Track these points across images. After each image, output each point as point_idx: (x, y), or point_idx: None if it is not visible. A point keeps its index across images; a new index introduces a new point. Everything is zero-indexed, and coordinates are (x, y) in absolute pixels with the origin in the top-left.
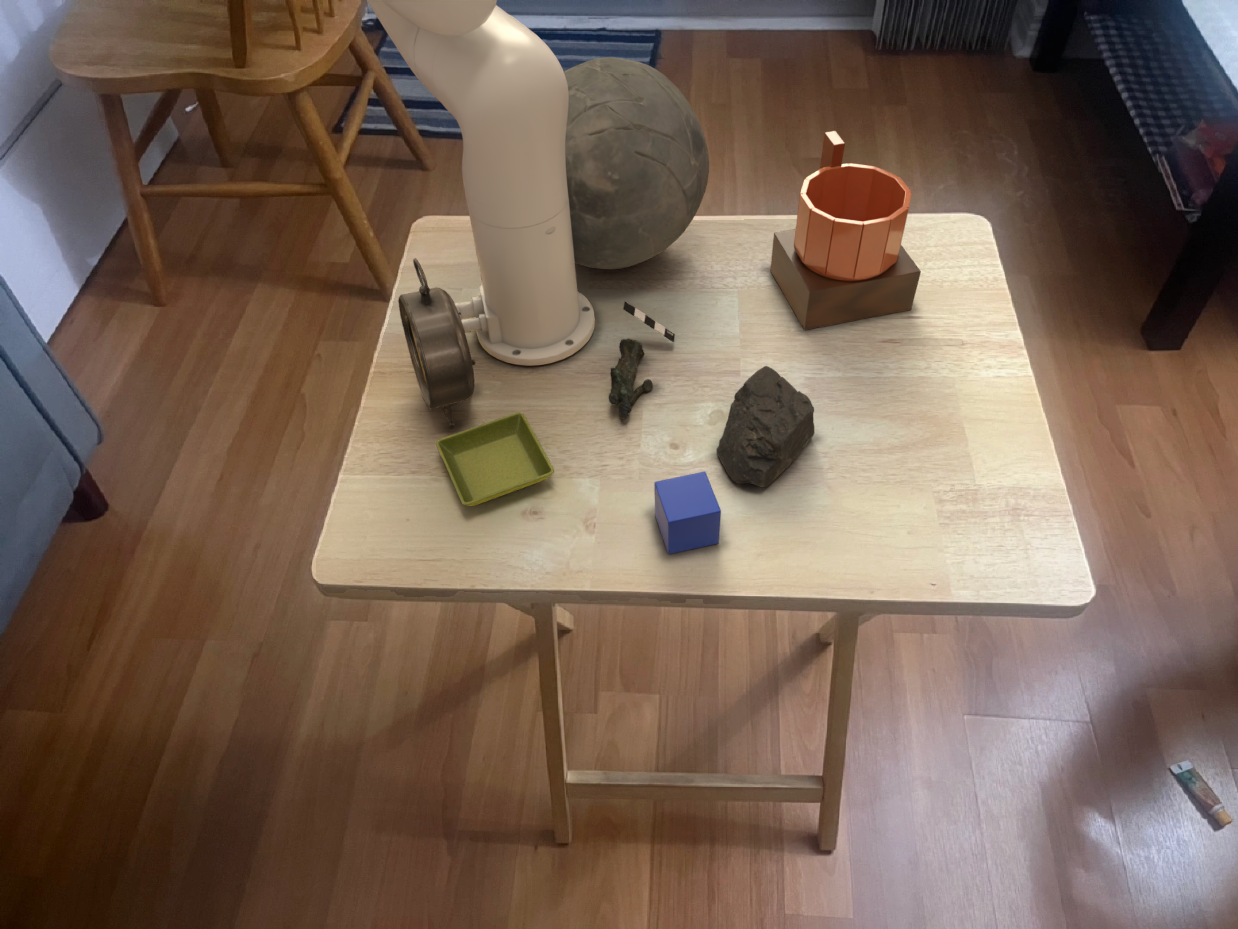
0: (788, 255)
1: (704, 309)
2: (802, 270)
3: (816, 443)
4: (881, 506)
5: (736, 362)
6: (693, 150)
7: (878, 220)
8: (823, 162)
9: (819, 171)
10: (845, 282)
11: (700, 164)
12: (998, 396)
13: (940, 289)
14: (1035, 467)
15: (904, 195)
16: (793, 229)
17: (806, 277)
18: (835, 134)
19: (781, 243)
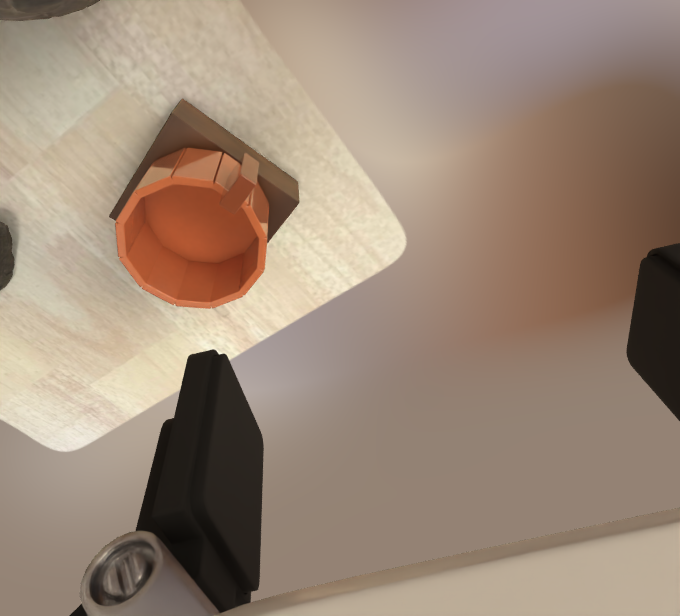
0: (145, 158)
1: (53, 71)
2: (135, 188)
3: (10, 284)
4: (7, 351)
5: (20, 163)
6: (15, 7)
7: (161, 296)
8: (237, 167)
9: (202, 183)
10: None
11: (49, 11)
12: (186, 360)
13: (285, 268)
14: (139, 403)
15: (238, 288)
16: (196, 131)
17: (127, 199)
18: (246, 191)
19: (159, 135)
